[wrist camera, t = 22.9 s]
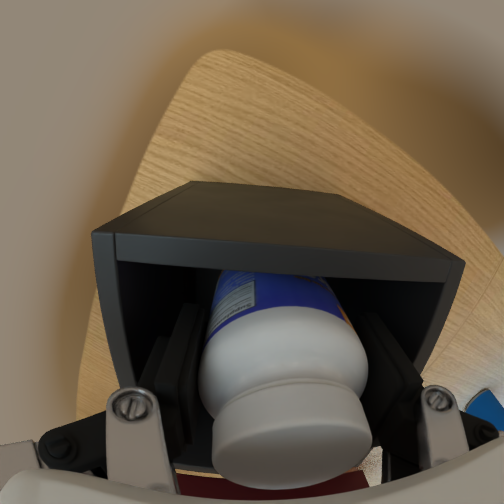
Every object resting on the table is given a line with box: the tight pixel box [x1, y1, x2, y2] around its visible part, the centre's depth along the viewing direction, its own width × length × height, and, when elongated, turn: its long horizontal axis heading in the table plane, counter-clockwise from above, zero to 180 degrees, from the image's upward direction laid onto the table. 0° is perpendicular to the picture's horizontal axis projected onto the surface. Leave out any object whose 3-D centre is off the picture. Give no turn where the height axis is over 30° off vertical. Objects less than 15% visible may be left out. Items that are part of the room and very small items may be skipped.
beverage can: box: [465, 390, 504, 431], centre depth 27 cm, size 6×6×12 cm
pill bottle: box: [197, 270, 372, 490], centre depth 10 cm, size 5×5×10 cm
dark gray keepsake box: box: [91, 181, 466, 474], centre depth 16 cm, size 13×12×15 cm
